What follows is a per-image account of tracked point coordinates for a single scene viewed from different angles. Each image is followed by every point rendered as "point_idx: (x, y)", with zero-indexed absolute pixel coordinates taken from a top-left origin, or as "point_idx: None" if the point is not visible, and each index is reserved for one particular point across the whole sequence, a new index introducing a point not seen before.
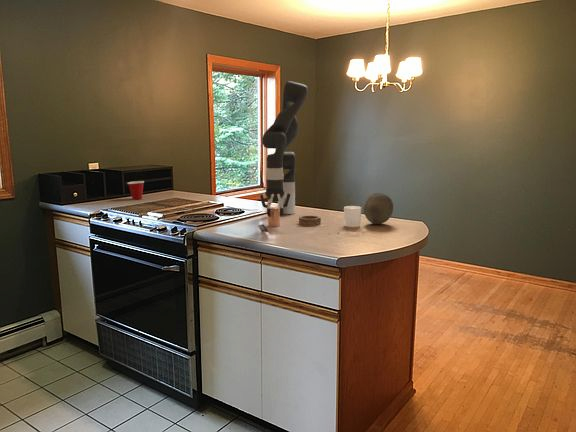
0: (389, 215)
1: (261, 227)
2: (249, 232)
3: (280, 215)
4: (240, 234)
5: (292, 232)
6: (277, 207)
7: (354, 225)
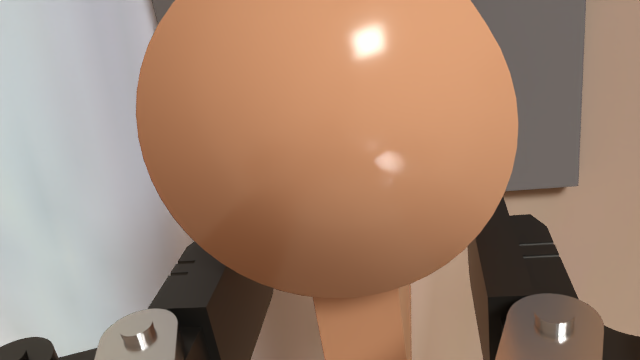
0: None
1: (167, 3)
2: (67, 213)
3: (473, 292)
4: (2, 293)
5: (596, 269)
6: (446, 37)
7: None
